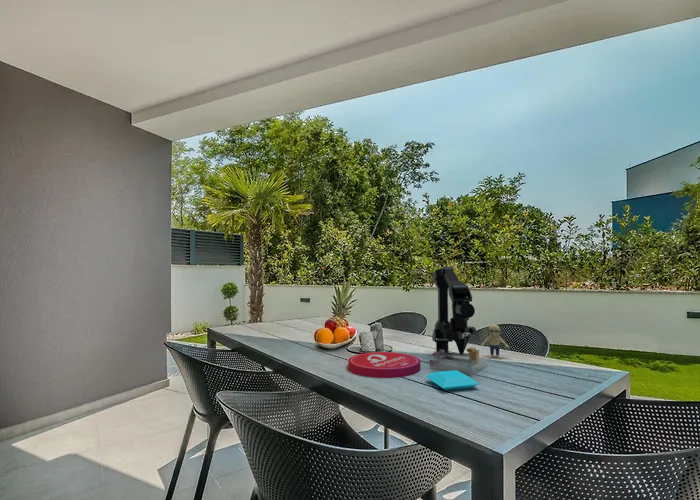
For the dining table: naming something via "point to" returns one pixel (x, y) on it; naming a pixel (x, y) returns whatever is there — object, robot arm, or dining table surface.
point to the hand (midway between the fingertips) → (461, 354)
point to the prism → (452, 380)
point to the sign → (384, 364)
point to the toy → (494, 340)
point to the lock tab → (473, 353)
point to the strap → (453, 354)
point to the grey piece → (458, 363)
